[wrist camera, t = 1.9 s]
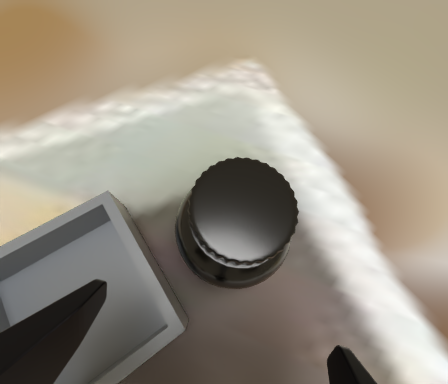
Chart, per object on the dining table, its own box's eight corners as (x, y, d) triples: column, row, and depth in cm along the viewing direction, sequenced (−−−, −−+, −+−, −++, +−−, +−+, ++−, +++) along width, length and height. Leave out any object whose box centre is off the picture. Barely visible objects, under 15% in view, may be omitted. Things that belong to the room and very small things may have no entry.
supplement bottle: (239, 199, 22) (276, 120, 11) (272, 264, 20) (358, 246, 9) (174, 227, 20) (141, 166, 9) (203, 300, 18) (204, 332, 7)
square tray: (39, 435, 15) (-17, 488, 11) (-12, 281, 18) (-69, 282, 14) (189, 319, 18) (185, 330, 14) (124, 206, 21) (107, 190, 17)
